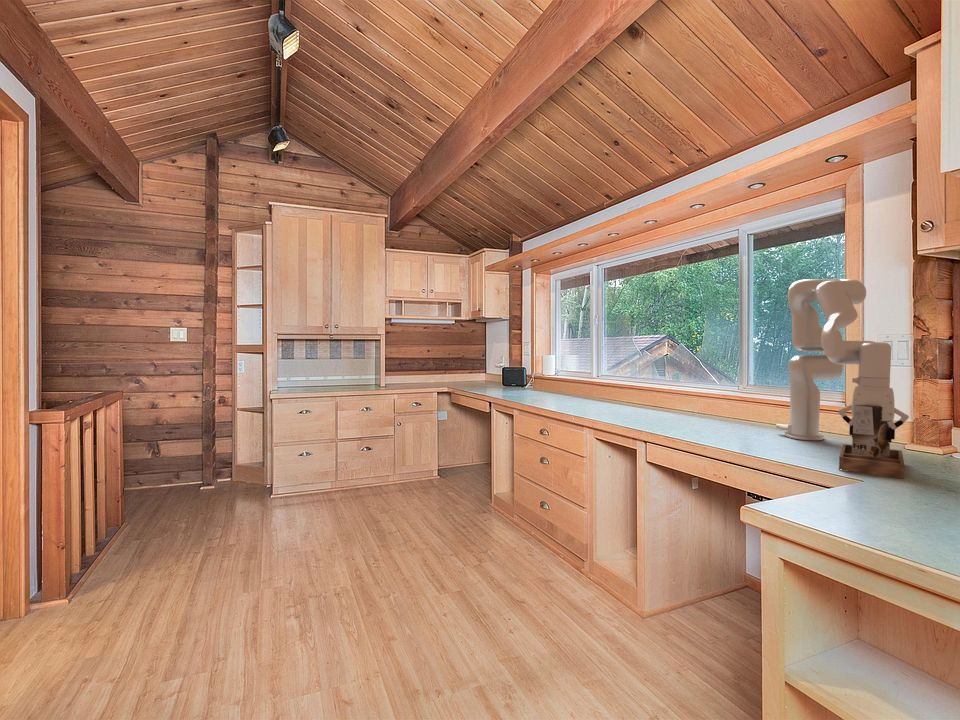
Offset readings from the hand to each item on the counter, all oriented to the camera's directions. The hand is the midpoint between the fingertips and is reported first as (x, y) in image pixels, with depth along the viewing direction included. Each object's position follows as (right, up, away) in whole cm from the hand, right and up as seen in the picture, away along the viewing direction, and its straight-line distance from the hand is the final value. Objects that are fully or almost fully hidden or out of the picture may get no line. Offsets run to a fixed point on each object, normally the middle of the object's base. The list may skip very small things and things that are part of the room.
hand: (871, 439), depth 151 cm
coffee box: (0, -6, 0) cm, 6 cm away
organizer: (-2, -8, -2) cm, 8 cm away
